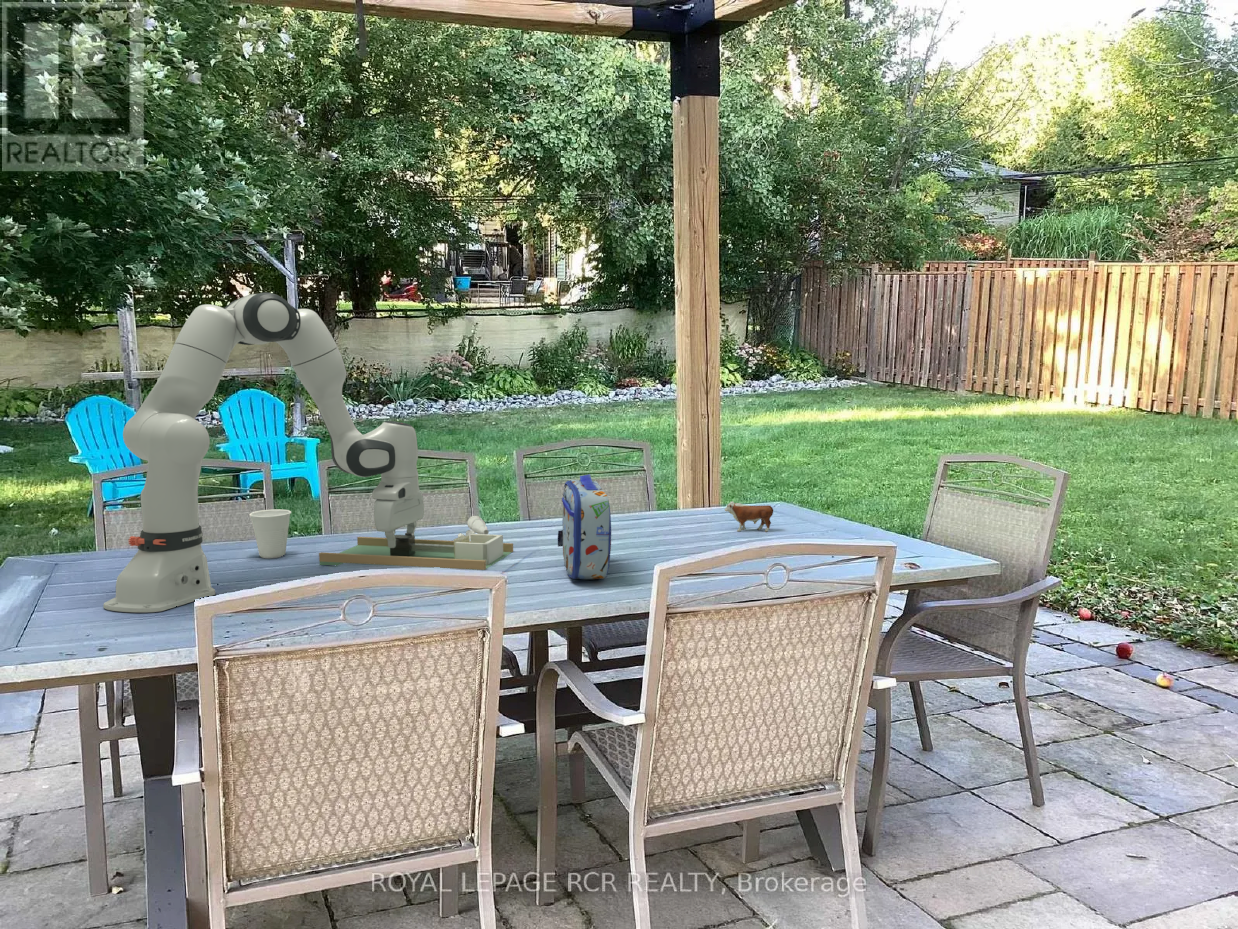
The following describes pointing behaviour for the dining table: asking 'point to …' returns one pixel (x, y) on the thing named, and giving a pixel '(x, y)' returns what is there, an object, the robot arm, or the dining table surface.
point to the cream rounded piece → (475, 527)
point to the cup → (271, 531)
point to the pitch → (379, 554)
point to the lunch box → (585, 529)
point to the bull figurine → (750, 514)
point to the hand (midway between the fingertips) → (401, 543)
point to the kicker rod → (421, 546)
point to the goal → (480, 548)
